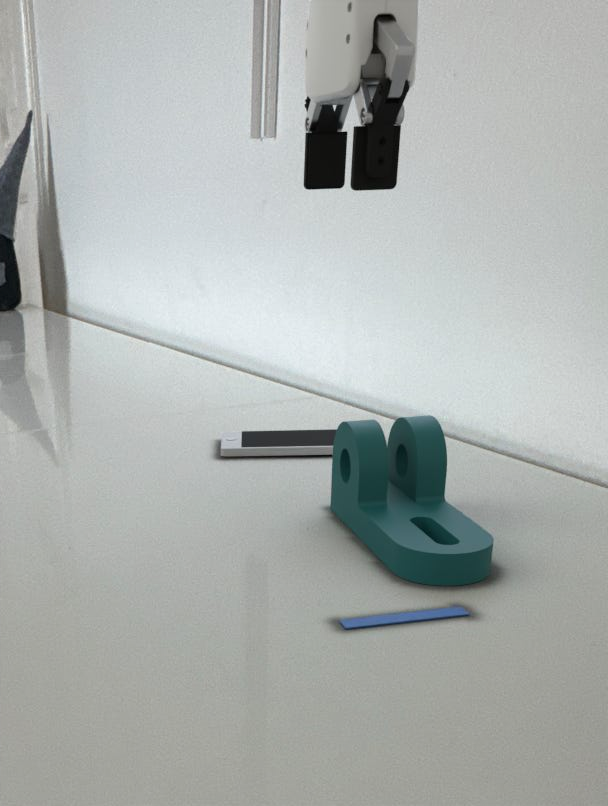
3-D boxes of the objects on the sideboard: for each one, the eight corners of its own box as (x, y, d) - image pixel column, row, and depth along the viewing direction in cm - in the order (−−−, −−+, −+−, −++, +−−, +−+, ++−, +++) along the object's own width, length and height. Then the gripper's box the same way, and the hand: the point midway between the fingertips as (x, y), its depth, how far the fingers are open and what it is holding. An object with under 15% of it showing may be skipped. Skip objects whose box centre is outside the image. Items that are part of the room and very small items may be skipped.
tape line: (460, 607, 63) (460, 606, 63) (469, 615, 62) (469, 613, 62) (338, 621, 62) (339, 620, 62) (345, 629, 61) (345, 627, 61)
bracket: (330, 508, 82) (334, 413, 79) (409, 502, 83) (417, 407, 80) (409, 589, 66) (418, 473, 63) (507, 581, 67) (521, 465, 63)
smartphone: (222, 439, 105) (222, 430, 104) (372, 436, 103) (373, 427, 102) (220, 457, 98) (220, 447, 98) (381, 454, 96) (381, 444, 96)
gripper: (477, -125, 60) (448, 188, 67) (365, -62, 75) (351, 187, 83) (359, -126, 59) (341, 192, 66) (269, -62, 74) (263, 190, 81)
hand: (347, 189), depth 74 cm, fingers open, 9 cm apart
